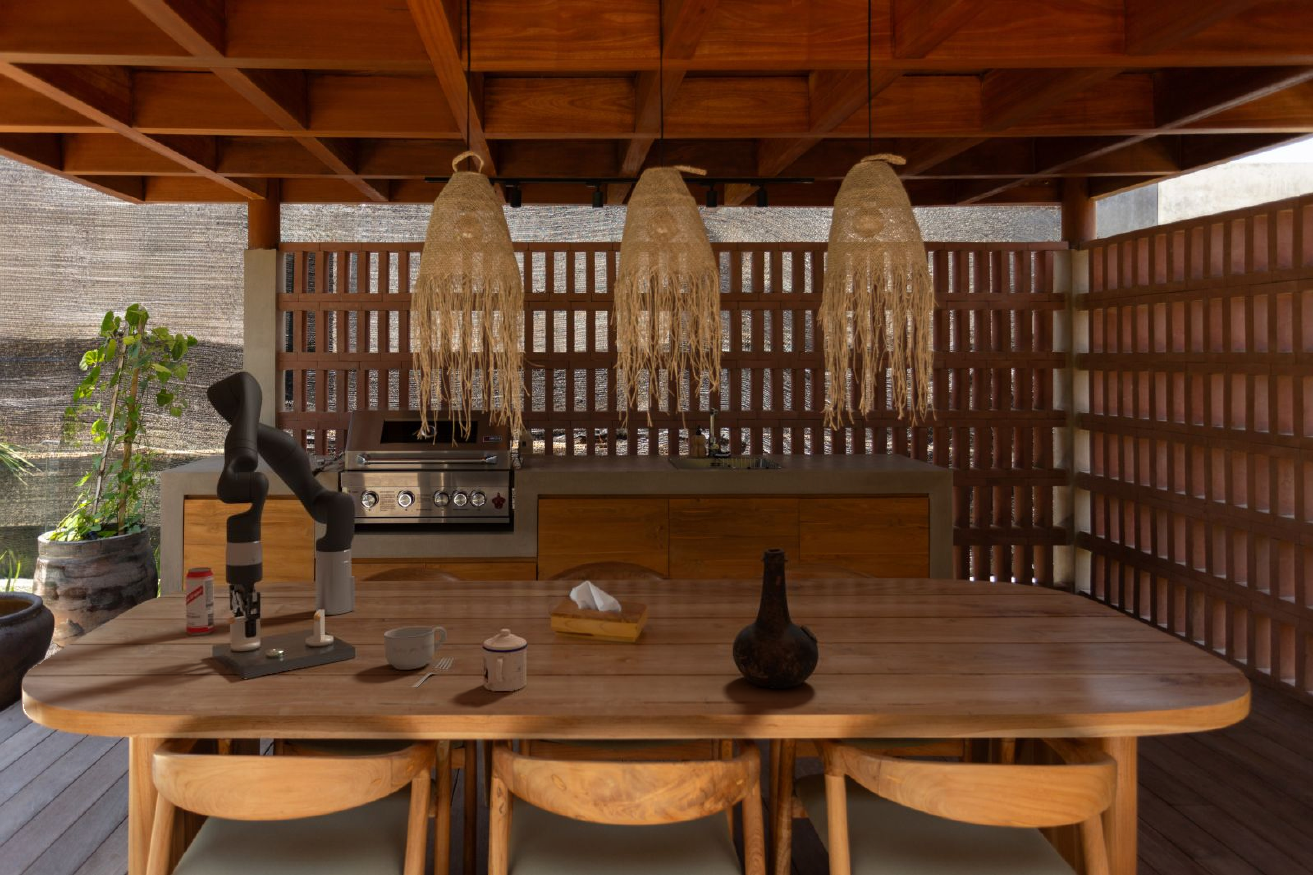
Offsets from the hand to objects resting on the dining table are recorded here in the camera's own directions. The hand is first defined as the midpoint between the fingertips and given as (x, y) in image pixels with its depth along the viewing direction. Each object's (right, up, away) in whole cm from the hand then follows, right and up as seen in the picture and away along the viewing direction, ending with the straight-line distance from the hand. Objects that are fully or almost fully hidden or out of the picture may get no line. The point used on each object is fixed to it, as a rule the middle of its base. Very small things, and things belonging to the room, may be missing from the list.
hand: (245, 633), depth 201 cm
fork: (+44, -7, -14) cm, 47 cm away
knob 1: (0, -3, 0) cm, 3 cm away
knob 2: (+15, -3, +4) cm, 16 cm away
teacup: (+40, -6, -3) cm, 40 cm away
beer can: (-22, -5, +23) cm, 32 cm away
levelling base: (+8, -6, +2) cm, 10 cm away
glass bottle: (+118, -7, -13) cm, 118 cm away
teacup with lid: (+61, -7, -18) cm, 64 cm away
